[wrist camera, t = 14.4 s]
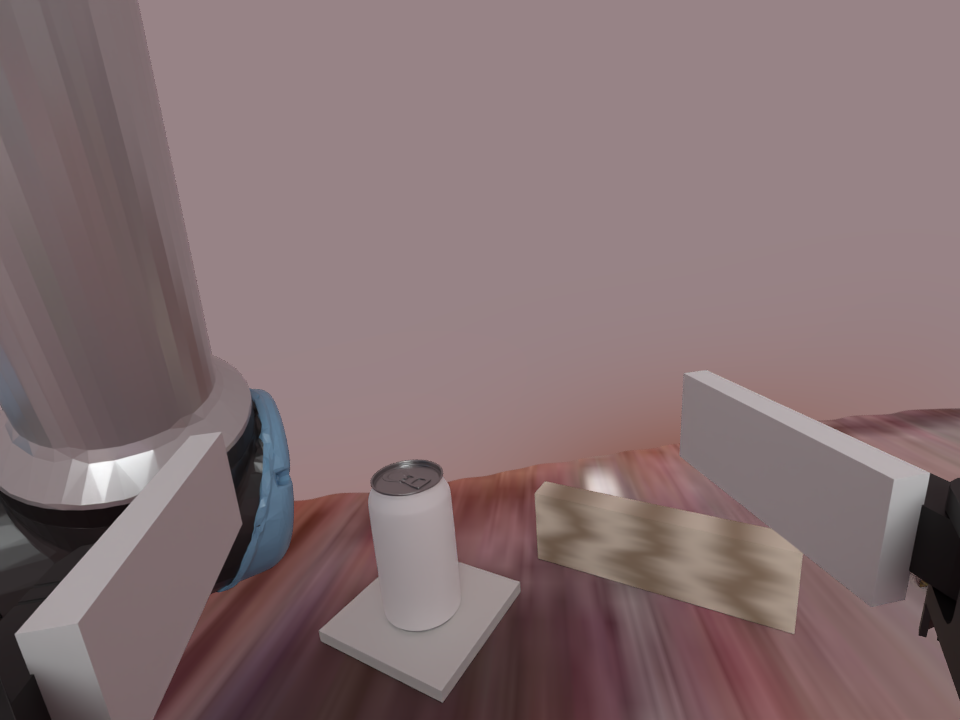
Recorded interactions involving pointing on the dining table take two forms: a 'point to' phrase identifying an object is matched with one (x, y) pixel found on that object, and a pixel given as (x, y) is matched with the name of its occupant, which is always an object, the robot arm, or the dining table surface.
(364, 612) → the pad
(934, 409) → the dining table surface
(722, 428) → the robot arm
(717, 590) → the beige brown patterned panel
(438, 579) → the can
